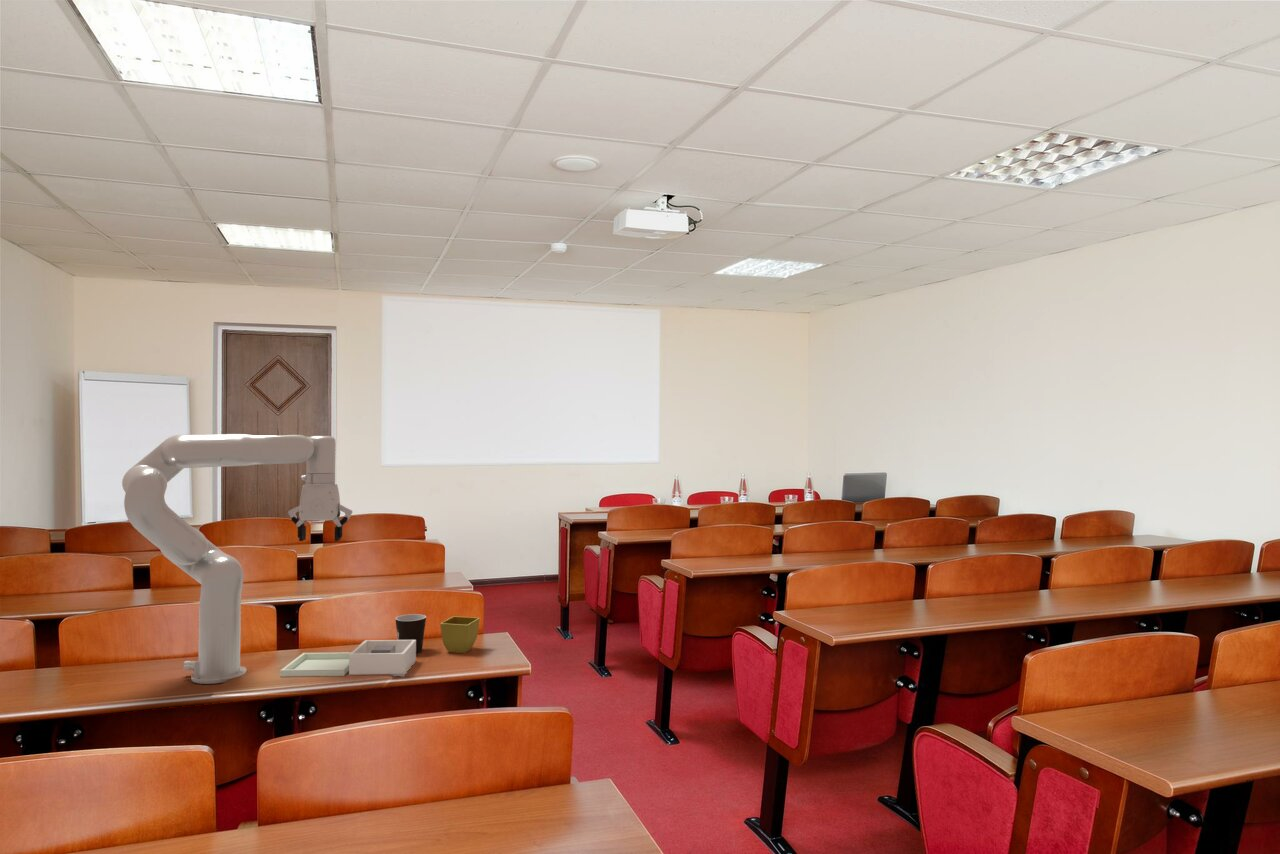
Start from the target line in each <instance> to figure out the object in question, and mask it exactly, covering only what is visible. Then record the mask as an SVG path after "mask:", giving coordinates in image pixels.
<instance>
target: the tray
mask: <svg viewBox="0 0 1280 854" xmlns="http://www.w3.org/2000/svg"><path fill="white" fill-rule="evenodd" d="M351 652H352V651H351ZM351 652H349V651H347V652H343V651H342V652H302V653H301V654H300V655H298V656H297V657H296V658H294V659H293V660H292V661H291V662H289V663H288V664H287V665H285V666H284V667H283V668H281V669H280V670H279V671H280V672H279V673H280V674H279V677H280V678H283V677H284V678H285V677H286V678H289V677H292V678H293V677H294V678H295V677H297V678H298V677H302V678H303V677H342V676H343V677H344V676H345V675H346V674H347V673H349V654H350V653H351Z"/></svg>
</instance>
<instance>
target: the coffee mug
mask: <svg viewBox="0 0 1280 854" xmlns="http://www.w3.org/2000/svg"><path fill="white" fill-rule="evenodd" d="M426 621H427V616H426V615H425V614H419V613H412V614H411V613H409V614H402V615H397V616H396V617H395V627H396V637H397V638H396V639H397V640H416V655H418V653H419V654H420V653H422V652H423V645H424V638H425V628H426Z"/></svg>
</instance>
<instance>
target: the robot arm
mask: <svg viewBox="0 0 1280 854" xmlns="http://www.w3.org/2000/svg"><path fill="white" fill-rule="evenodd" d="M336 443H337V442H336V438H335V437H334V436H331V435H311V436H306V435H303V434H287V435H255V434H254V435H253V434H247V433H219V434H218V433H216V434H213V433H212V434H211V433H210V434H175V435H171V436H169V437H168V438H166V439H165V440H163V441H162V442H161V443H160V444H158V446H156V447H155V448H154V449H153V450H152V451H150V452H149V453H148V454H147V455H145V456H144V457H143V458H142V459H140V460H138V462H137V463H135V464H134V465H133V466H132V467H130V468H129V469H128V470H127V471H126V472H125V474H124V475H123V478H122V482H121V484H122V485H121V486H122V489H123V491H124V493H125V494H124V499H123V501H124V502H123V505H124V511H125V515H126V518H127V519H128V521H129V523H130V524H131V526H132V527H133V528H134V529H135V530H136V531H137V532H138V533H139V534H141V535H142V536H143V537H144V538H145V539H147V540H148V542H150V543H151V544H152V545H154V546H155V547H157V548H158V549H159V550H160V552H161V554H162V555H163V556H164V557H165V558H166V559H167V560H168V561H170V562H171V563H172V564H174V565H175V566H176V567H178V568H179V569H180V570H181V571H183V572H184V573H185V574H187V575H188V576H189V577H191V579H193V580H195V581H196V582H197V583H199V584H200V594H199V595H200V596H199V603H198V607H199V608H198V659H197V660H195V661H194V660H185V661H183V665H182V666H183V670H184V671H193V673H192V674H191V679H190V680H191V682H193V683H196V684H201V685H203V684H204V685H209V684H210V685H213V684H221V683H226V682H227V681H229V680H232V679H236V678H238V677H241V676H243V675H245V674H246V673H247V670H248V669H247V668H246V667H245V666H242V665H241V632H242V631H241V630H242V629H241V626H242V625H241V623H242V619H241V616H242V615H241V613H242V593H243V586H244V585H243V584H244V571H243V566H242V564H241V563H240V561H238V559H236V558H235V557H233V556H231V555H230V554H228V553H225V551H222V550H221V549H220V548H219V547H217V546H216V545H215V544H213V543H212V542H211V541H210V540H209V539H207V537H206V536H205V535H204V533H203V532H201V531H200V530H199V529H197V528H195V527H194V526H192V525H191V524H189V523H188V522H187V521H186V520H184V519H183V518H182V517H181V516H179V515H178V514H177V513H176V512H175V511H174V510H173V509H171V507H169V505H168V504H167V503H166V499H165V494H166V491H167V487H168V483H169V482H170V481H171V480H172V479H173V478H175V477H176V476H177V475H178V474H179V473H181V471H183V470H184V469H194V468H195V469H197V468H198V469H200V468H219V467H221V468H222V467H223V468H224V467H226V468H227V467H247V466H248V467H249V466H255V465H273V464H274V465H277V464H281V465H282V464H301V463H304V462H306V472H305V474H304V475H301V476H300V477H301V481H305V484H303V485H302V486H301V487H302V488H301V492H300V499H299V504H298V506H296V507H293V508H291V509H289V510H288V512H287V514H288V516H289V517H290V518H291V519H290V520H291V521H292V523H293V524H295V525H296V527H297V539H298V541H299V542H303V541H305V540H306V539H307V527H306V525H305V524H306V523H307V522H308V521H332V522H333V523H334V524H335V526H334V541H335V542H338V541H341V539H342V538H343V527H344V525H345V524H346V523H347V522H348V521H349V520H350V518H351V516H352V514H353V510H352V509H349V508H348V507H346V506H345V505H342V504H341V499H340V491H339V487H338V484H337V483H336V450H337V449H336ZM341 512H343V513H344V516H343V518H342V519H341V517H340V516H341ZM296 513H298V516H297V514H296Z"/></svg>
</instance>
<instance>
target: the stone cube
mask: <svg viewBox="0 0 1280 854" xmlns="http://www.w3.org/2000/svg"><path fill="white" fill-rule="evenodd" d="M395 650H396V645H377V646H375V647H374V648H373V649H372V650H371V653H395Z"/></svg>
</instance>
